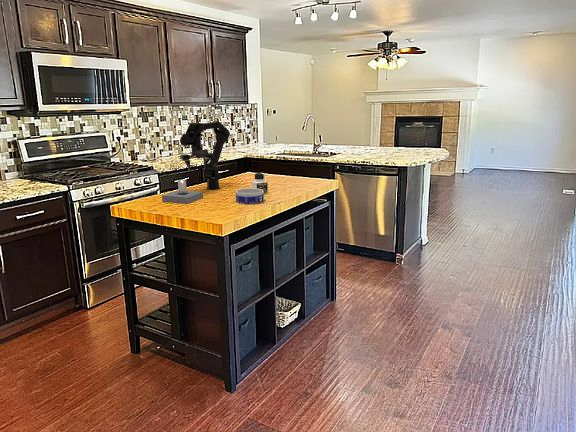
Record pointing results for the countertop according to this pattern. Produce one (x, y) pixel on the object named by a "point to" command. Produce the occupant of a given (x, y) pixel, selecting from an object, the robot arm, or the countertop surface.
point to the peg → (182, 187)
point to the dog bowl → (249, 195)
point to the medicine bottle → (260, 182)
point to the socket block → (182, 197)
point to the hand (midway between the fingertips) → (197, 170)
